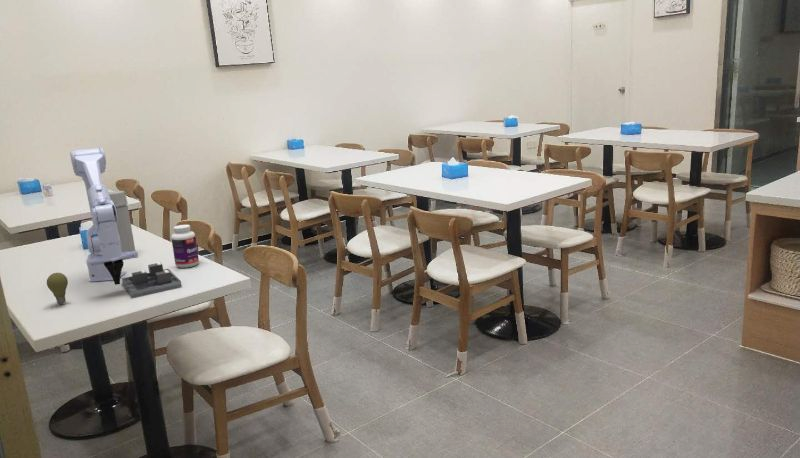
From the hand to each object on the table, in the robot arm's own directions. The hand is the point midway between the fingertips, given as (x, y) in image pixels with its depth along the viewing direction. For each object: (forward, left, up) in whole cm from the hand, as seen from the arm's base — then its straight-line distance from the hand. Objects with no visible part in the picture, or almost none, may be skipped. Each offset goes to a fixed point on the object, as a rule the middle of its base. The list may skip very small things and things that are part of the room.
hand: (117, 283), depth 192 cm
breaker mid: (+6, +3, -2) cm, 7 cm away
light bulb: (-14, -7, -3) cm, 16 cm away
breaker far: (+8, +11, -2) cm, 14 cm away
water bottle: (-14, +43, -3) cm, 45 cm away
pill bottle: (+15, +25, -3) cm, 29 cm away
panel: (+9, +5, -3) cm, 10 cm away
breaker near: (+14, +2, -2) cm, 14 cm away
